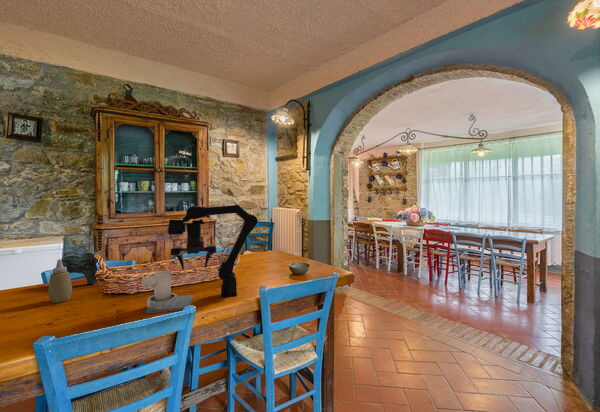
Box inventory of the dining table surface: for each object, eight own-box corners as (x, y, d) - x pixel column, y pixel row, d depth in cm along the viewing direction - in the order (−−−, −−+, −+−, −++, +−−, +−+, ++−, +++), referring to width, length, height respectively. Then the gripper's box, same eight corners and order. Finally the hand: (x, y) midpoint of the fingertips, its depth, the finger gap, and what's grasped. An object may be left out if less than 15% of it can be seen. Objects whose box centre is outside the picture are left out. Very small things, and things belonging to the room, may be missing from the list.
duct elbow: (168, 300, 120) (167, 270, 119) (172, 304, 115) (172, 272, 115) (141, 306, 113) (141, 274, 112) (145, 311, 108) (145, 277, 108)
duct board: (192, 297, 126) (192, 288, 126) (189, 309, 113) (189, 299, 113) (152, 301, 122) (152, 291, 122) (144, 314, 108) (144, 303, 108)
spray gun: (102, 282, 148) (101, 244, 147) (94, 286, 142) (93, 247, 141) (63, 283, 147) (62, 245, 146) (53, 287, 141) (52, 247, 140)
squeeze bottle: (76, 298, 124) (75, 258, 124) (54, 305, 117) (53, 262, 116) (66, 296, 128) (65, 257, 127) (44, 302, 120) (42, 260, 120)
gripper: (168, 237, 114) (168, 275, 115) (215, 235, 119) (216, 272, 120) (172, 234, 125) (172, 268, 125) (216, 232, 130) (216, 265, 131)
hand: (194, 269), depth 125 cm, fingers open, 9 cm apart
